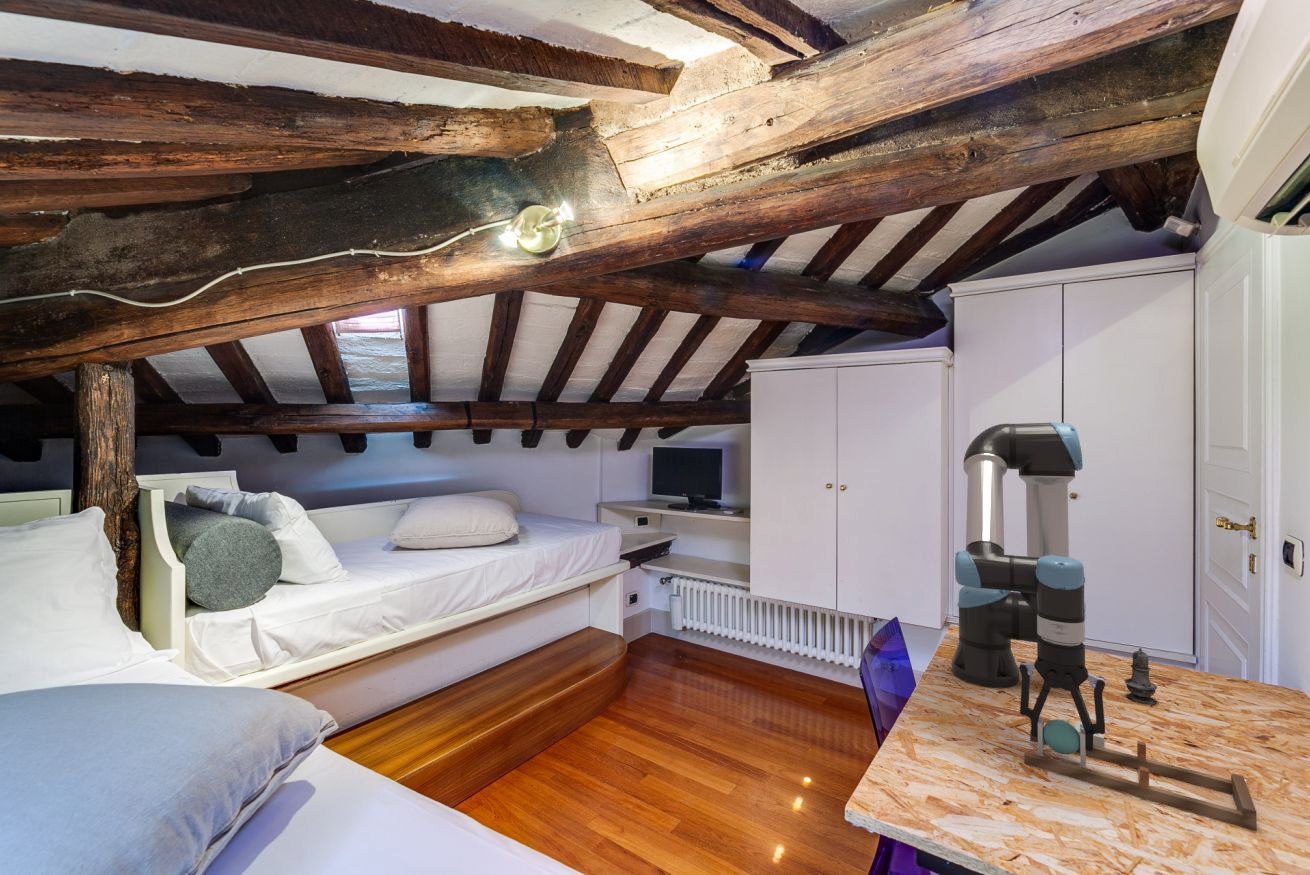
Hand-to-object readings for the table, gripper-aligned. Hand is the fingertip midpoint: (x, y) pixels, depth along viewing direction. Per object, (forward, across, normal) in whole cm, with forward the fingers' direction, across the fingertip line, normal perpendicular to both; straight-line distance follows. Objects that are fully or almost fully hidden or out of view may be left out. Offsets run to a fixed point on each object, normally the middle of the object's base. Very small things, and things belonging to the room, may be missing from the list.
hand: (1061, 759), depth 112 cm
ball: (-4, 0, 0) cm, 4 cm away
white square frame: (0, +4, +12) cm, 13 cm away
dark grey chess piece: (0, +13, +40) cm, 42 cm away
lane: (0, +10, 0) cm, 10 cm away
